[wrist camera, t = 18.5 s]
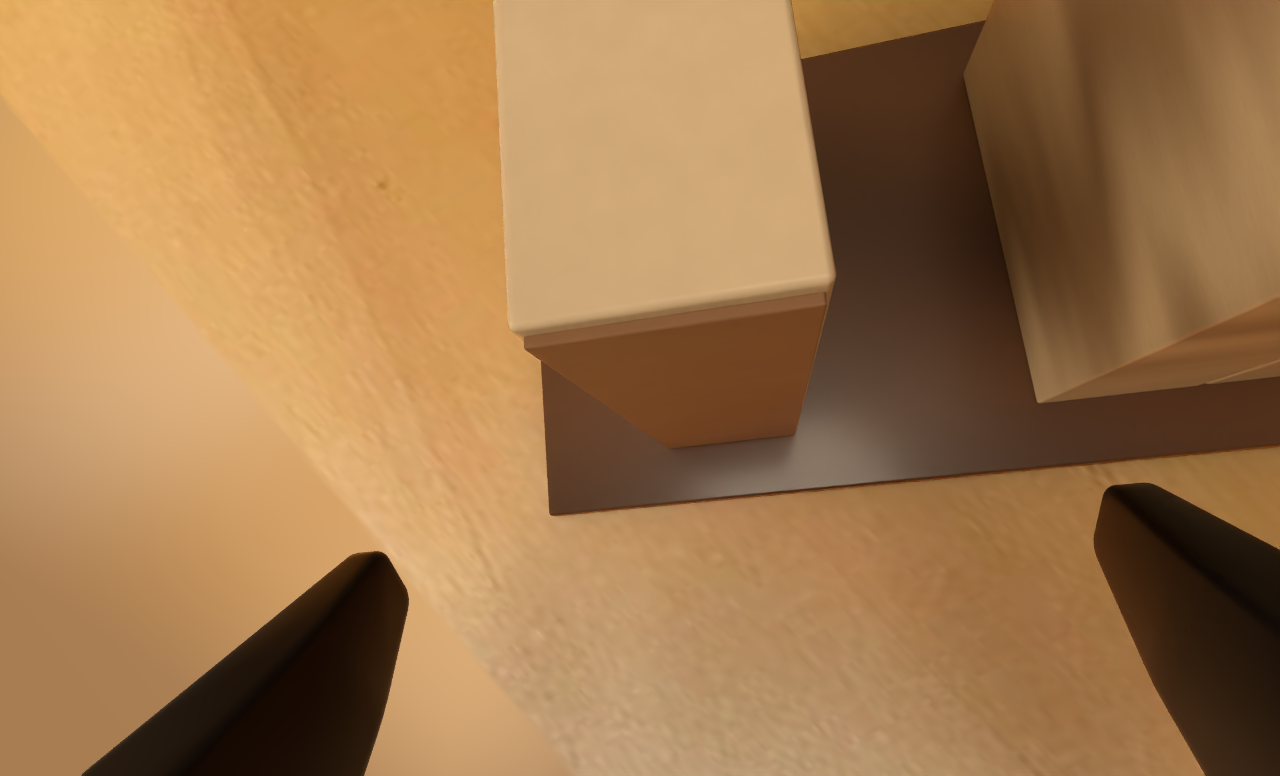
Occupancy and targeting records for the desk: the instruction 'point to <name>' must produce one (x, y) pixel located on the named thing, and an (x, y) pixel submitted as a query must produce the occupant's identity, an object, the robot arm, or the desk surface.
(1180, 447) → the book rack
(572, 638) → the desk surface
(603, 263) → the cream book
